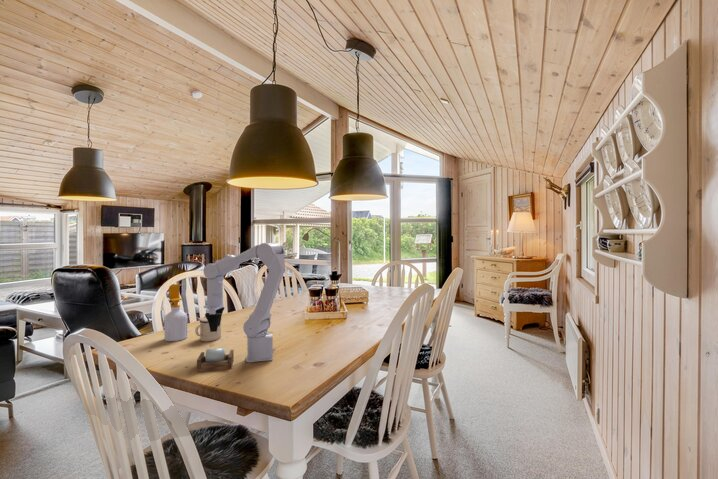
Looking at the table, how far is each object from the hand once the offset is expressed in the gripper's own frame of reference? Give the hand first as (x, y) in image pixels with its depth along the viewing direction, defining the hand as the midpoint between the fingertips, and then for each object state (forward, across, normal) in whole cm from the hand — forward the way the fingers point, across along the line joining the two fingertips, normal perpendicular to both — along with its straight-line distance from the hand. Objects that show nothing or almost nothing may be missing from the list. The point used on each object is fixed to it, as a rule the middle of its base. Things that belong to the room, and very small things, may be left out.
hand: (215, 328), depth 134 cm
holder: (+10, +13, +2) cm, 16 cm away
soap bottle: (+10, -26, -20) cm, 34 cm away
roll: (+9, +13, +2) cm, 16 cm away
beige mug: (+10, -21, -6) cm, 24 cm away
